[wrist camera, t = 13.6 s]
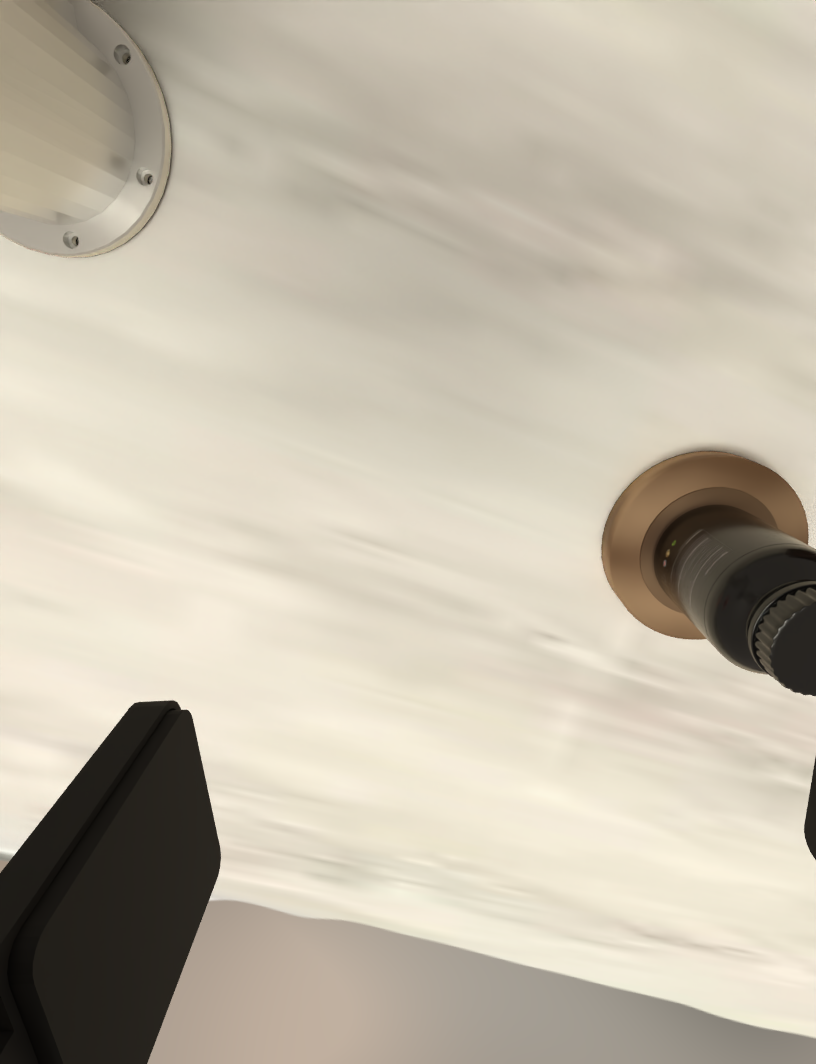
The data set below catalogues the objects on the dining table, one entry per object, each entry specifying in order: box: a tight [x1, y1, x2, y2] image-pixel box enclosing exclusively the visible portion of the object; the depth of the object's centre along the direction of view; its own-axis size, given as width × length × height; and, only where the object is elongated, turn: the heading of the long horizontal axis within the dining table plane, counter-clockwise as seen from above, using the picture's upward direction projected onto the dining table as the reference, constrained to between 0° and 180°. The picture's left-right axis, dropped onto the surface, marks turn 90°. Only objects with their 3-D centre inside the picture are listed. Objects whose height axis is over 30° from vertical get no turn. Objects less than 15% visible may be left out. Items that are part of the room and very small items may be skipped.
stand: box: [602, 451, 808, 639], centre depth 39 cm, size 12×12×2 cm
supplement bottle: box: [654, 504, 816, 696], centre depth 32 cm, size 7×7×12 cm
